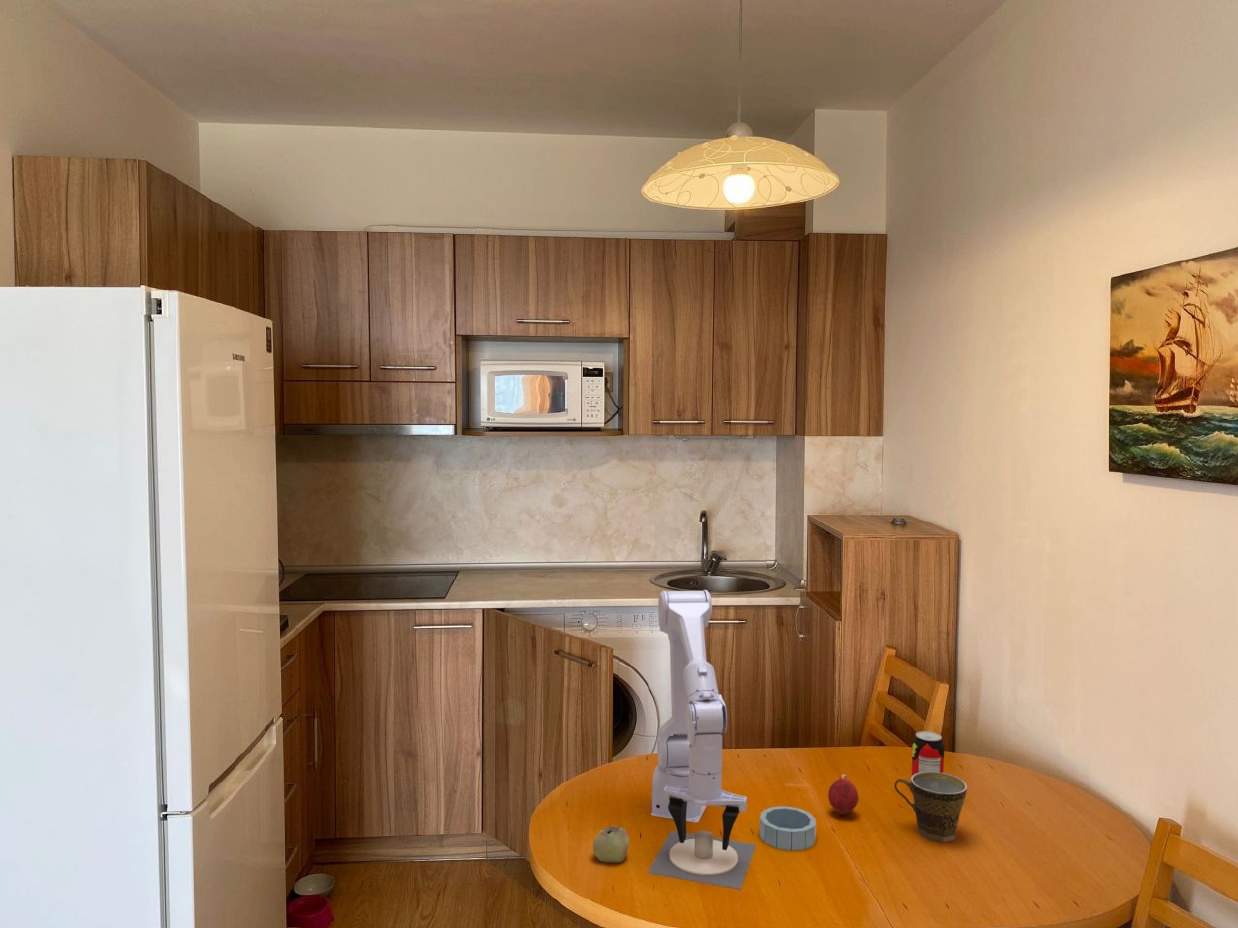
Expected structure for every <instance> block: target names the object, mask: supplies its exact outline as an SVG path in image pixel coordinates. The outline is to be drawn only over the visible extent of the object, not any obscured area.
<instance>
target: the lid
mask: <svg viewBox="0 0 1238 928" xmlns="http://www.w3.org/2000/svg"><path fill="white" fill-rule="evenodd" d="M694 834H695V839H688V840H685V841H684V843H680V842H679V843H677V844H675V845H674V846H673V847H672V848H671V850H670V861H671V862H672V864H673V865H674V866H675V867H677V868H678V869H680V870H682V871H684V872H687V873H690V874H694V875H700V876H715V875H721V874H724V873H727V872H729V871H731V870H733V869H734V868H735V867H736V865H737V863H738V855H737V853H736V851H735V850H734V849H733V848H732V847H731V846H729V845H728V848H727V850H722V842H720V841H717V840H713V838H714V835H713V833H712V832H710V831H708V830H698V831H696V832H695V833H694Z"/></svg>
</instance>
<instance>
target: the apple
mask: <svg viewBox="0 0 1238 928" xmlns="http://www.w3.org/2000/svg"><path fill="white" fill-rule="evenodd" d="M629 837H630V836H629V834H628V832H627V831H626V829H625V828H624V827H621V826H609V827H606V828H603V829H601V830H600V831H599V833H598V834H597V835H595V838H594V840H593V844H592V845H593V846H592V849H593V854H594V856H596V858H597V859H598V861H600V862H602V863H611V864H612V863H615V864H618V863H622V862H623V861H625V858H626V857H627V854H628V850H629V847H630V838H629Z"/></svg>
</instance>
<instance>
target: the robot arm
mask: <svg viewBox="0 0 1238 928" xmlns="http://www.w3.org/2000/svg"><path fill="white" fill-rule="evenodd" d="M657 601H658V603H657V606H658V607H657V608H658V609H657V610H658V612H657V613H658V617H657V618H658V627H659V631H660V632H662V633H665V634H667V636H668V641H669V656H670V658H669V659H670V660H669V661H670V663H669V665H670V690H671V691H670V695H671V698H670V699H671V700H670V701H671V703H670V704H671V718H669V719H668V720H666V722H665V723H663V724H662V725H661V726H660V727H659V728H658V733H657V744H656V745H657V746H656V752H657V753H656V754H657V762H658V764H657V765H656V766H655V767H654V770H653V774H652V782H651V787H652V788H651V814H650V816H655V817H660V818H661V817H662V818H666V819H672V820H673V822H674V825H675V828H676V832H678V836H679V842H680V843H684V841H685V839H686V833H687V822H691V823H699V821H700V819H701V818H702V815H703V814H704V813H705V812H704V811H705V809H706V808H707V806H713V807H719V808H720V807H721V808H724V810H723V812H722V814H721V817H722V828H723V829H722V831H723V832H722V839H723V842H722V850H727V848H728V845H729V840H730V839H731V833H732V830H733V828H734V824H735V822H736V820H737V818H738V816H739V813H740V812H743V813H746V810H747V808H748V804H747V802H748V797H747V796H745V795H739V794H737V793H732V792H729V791H727V790H724V789H722V780H723V779H722V774H723V773H722V772H723V734H725V733H726V732H727V728H728V714H727V713H728V712H727V707H726V703H725V701H724V699H723V695H722V694H720V693H719V688H718V684H717V678H716V677H717V676H716V672H715V668H714V666H713V665H712V664H711V663H710V662H708V661H707V652H706V639H705V638H706V637H705V629H706V628H707V627H708V626H709V624H710V623H709V622H710V620H711V618H712V615H713V614H712V613H713V602H712V596H711V594H710V592H709V590H707V589H703V590H671V591H670V590H666V589H665V590H662V591H661V592H660V593H659V594H658V599H657Z"/></svg>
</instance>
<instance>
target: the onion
mask: <svg viewBox="0 0 1238 928" xmlns="http://www.w3.org/2000/svg"><path fill="white" fill-rule="evenodd" d="M840 776H841V777H840V778H839V779H836V780H835V781H834V782H832V784H831V785H830V787H829V788H828V792H827V793H828V794H827V795H828V796H827V797H828V798H827V799H828V802H829V804H830V806H831V808H832V809H834V811H835V812H837V813H838V814H840V815H842V816H844V815H846V814H848V813H850V812H852V811H854V809H855V808H856V807H857V805H858V803H859V792H858V789H857V788H856V786H855V785H854V783H852V782H851V780H849V779H848V775H847V774H845V773H844V774H841V775H840Z"/></svg>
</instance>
